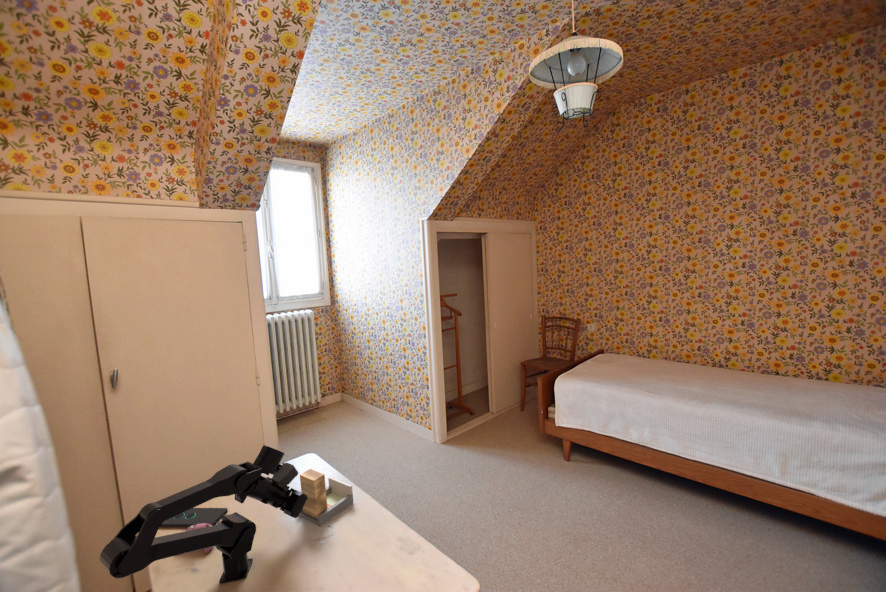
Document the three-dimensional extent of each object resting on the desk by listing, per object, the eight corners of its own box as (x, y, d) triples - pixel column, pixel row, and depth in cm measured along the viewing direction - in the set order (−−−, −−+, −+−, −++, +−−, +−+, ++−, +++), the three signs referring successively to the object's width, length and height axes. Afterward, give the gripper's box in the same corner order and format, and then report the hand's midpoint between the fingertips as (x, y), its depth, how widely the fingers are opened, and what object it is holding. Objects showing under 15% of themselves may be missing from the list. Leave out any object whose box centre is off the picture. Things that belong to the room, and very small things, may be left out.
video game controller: (217, 549, 113) (222, 522, 116) (206, 553, 109) (212, 525, 112) (185, 549, 114) (191, 522, 117) (174, 553, 110) (180, 525, 112)
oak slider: (317, 519, 120) (313, 480, 119) (303, 511, 124) (299, 474, 123) (327, 511, 123) (324, 474, 122) (313, 504, 127) (310, 468, 126)
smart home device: (172, 507, 130) (228, 507, 129) (173, 511, 131) (229, 512, 129) (152, 523, 122) (211, 524, 120) (152, 528, 122) (212, 529, 121)
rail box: (320, 526, 118) (318, 508, 118) (298, 515, 124) (296, 497, 124) (353, 502, 130) (352, 485, 129) (331, 493, 136) (330, 476, 135)
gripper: (298, 468, 107) (333, 485, 118) (260, 452, 118) (295, 469, 128) (275, 511, 102) (314, 525, 112) (237, 490, 112) (276, 505, 122)
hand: (299, 504), depth 119 cm, fingers closed
